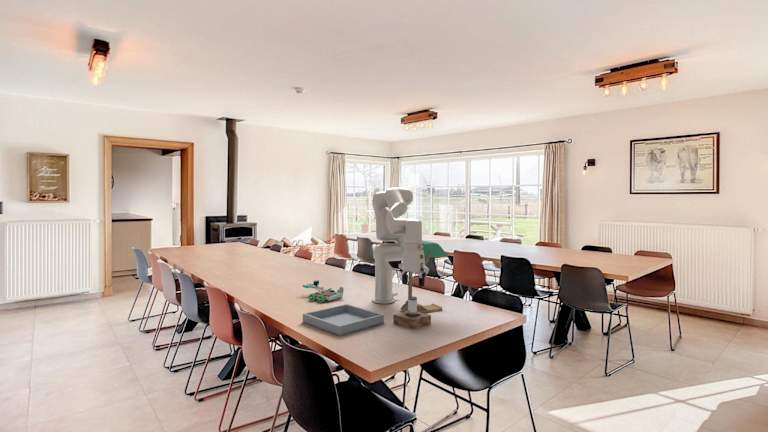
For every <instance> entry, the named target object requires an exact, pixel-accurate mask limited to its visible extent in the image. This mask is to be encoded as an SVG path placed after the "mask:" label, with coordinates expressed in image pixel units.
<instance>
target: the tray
mask: <svg viewBox="0 0 768 432" xmlns="http://www.w3.org/2000/svg"><path fill="white" fill-rule="evenodd" d="M302 323H304V324H306V325H308V326H311V327H314V328H316V329H320V330H322V331H325V332H327V333H330V334H333V335H336V336H338V337H340V336H344V335H348V334H351V333H354V332H359V331H362V330H365V329H366V330H367V329H368V328H369V329H370V328H373V327H377V326H379V325H384V324H385V314H384V313H380V312H377V311H373V310H369V309H365V308H363V307H359V306H355V305H352V304H348V303H345V304H340V305H335V306H332V307H328V308H322V309H317V310H315V311H314V310H313V311H308V312H305V313H304V312H303V313H302Z"/></svg>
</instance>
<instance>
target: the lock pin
mask: <svg viewBox="0 0 768 432" xmlns="http://www.w3.org/2000/svg"><path fill="white" fill-rule="evenodd" d="M407 300H408V316H409V317H417V303H418V297H417V296H413V295H412V296H410V297H408V296H407Z"/></svg>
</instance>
